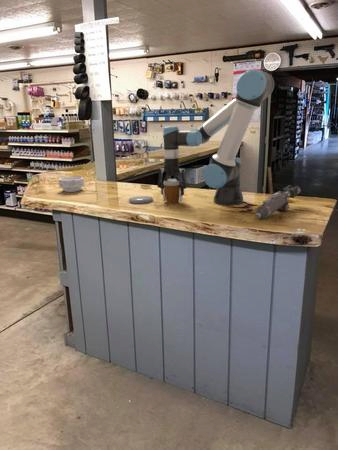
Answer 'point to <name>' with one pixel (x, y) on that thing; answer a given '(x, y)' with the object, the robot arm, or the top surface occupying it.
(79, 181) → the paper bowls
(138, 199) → the slate dish
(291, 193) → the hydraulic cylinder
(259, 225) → the top surface
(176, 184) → the disposable coffee cup
